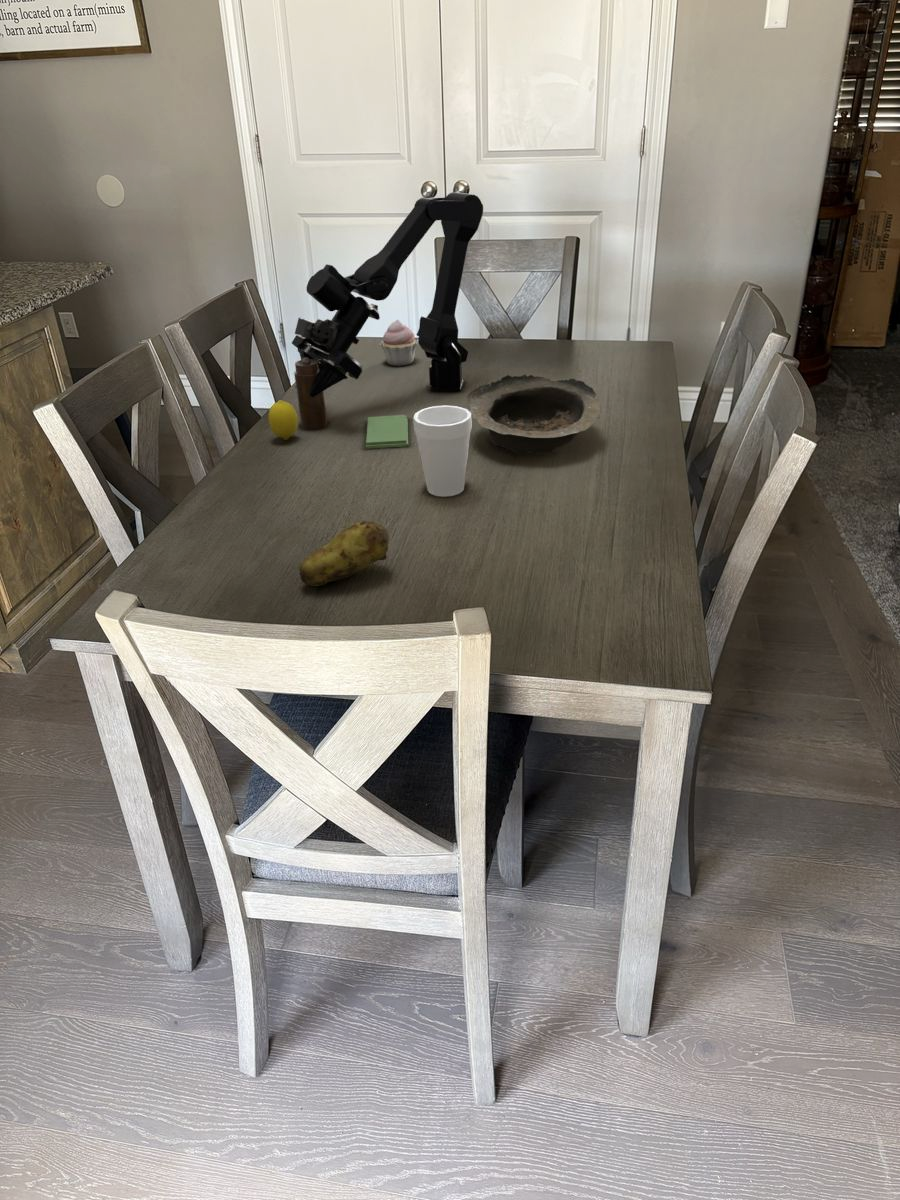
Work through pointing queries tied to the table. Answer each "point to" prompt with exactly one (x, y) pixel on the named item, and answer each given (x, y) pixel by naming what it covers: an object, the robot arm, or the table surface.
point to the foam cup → (443, 447)
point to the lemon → (283, 419)
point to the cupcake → (399, 344)
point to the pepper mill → (309, 406)
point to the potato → (346, 553)
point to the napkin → (387, 432)
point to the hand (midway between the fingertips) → (303, 392)
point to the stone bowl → (534, 412)
